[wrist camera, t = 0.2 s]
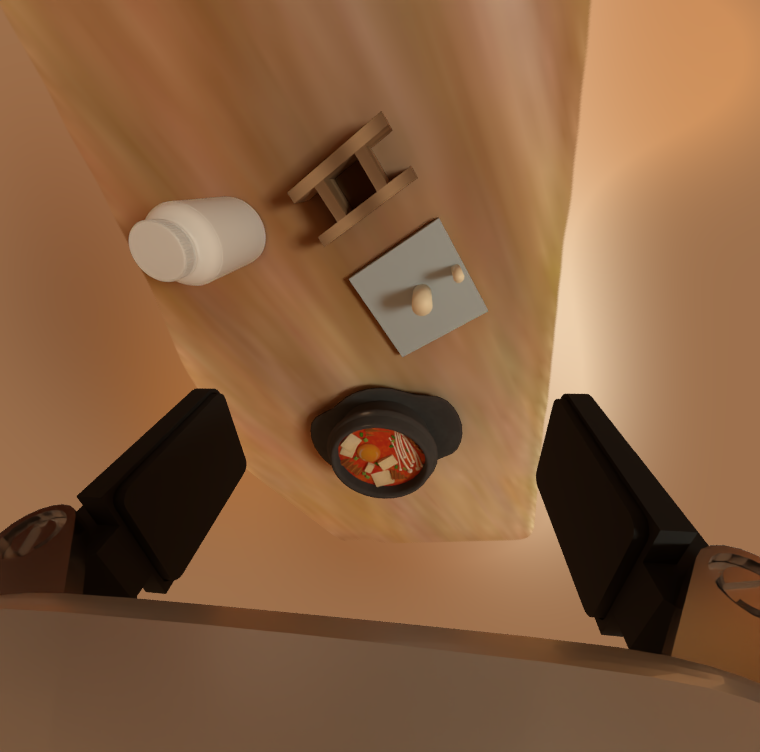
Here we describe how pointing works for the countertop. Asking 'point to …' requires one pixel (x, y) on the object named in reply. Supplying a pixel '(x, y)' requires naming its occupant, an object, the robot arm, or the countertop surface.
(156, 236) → the pill bottle
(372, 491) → the black low round piece
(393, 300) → the base
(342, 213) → the wooden h-shaped stand
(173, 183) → the countertop surface
